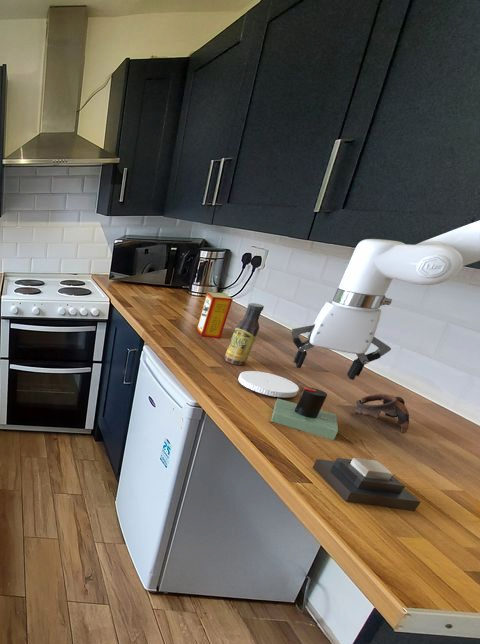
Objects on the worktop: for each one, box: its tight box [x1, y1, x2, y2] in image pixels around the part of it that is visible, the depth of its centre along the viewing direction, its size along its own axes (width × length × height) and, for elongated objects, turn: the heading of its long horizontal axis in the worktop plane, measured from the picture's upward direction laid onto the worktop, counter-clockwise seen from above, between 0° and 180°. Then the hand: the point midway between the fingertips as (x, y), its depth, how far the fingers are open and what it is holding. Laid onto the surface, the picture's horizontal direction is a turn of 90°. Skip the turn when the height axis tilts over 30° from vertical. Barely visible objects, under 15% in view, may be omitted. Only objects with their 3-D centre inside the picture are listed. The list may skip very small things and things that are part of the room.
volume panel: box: [270, 398, 339, 441], centre depth 98 cm, size 12×10×3 cm
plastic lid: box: [238, 370, 300, 399], centre depth 114 cm, size 14×14×2 cm
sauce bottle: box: [224, 302, 265, 366], centre depth 129 cm, size 6×6×20 cm
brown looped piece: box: [353, 393, 410, 434], centre depth 100 cm, size 12×10×8 cm
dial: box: [295, 386, 328, 418], centre depth 96 cm, size 4×4×6 cm
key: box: [350, 457, 394, 480], centre depth 75 cm, size 4×4×2 cm
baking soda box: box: [195, 291, 234, 339], centre depth 157 cm, size 10×6×16 cm
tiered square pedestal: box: [312, 457, 421, 512], centre depth 76 cm, size 11×10×4 cm
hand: (323, 371), depth 93 cm, fingers open, 9 cm apart
